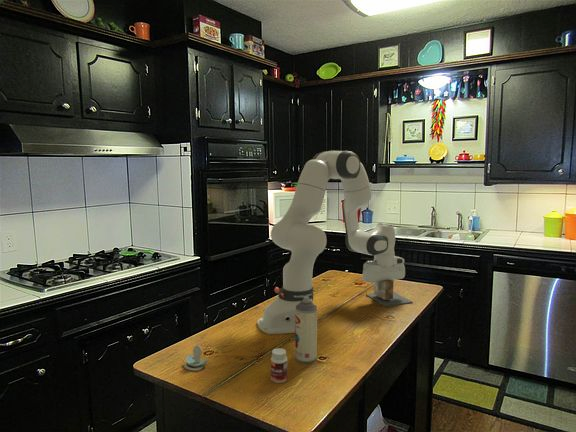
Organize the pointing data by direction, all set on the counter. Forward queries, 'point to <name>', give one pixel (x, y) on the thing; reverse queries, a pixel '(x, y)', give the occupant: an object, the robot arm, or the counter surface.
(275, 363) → the pill bottle
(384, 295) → the wooden block
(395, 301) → the rubber mat
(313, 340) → the aerosol can
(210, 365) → the counter surface
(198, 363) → the pacifier
